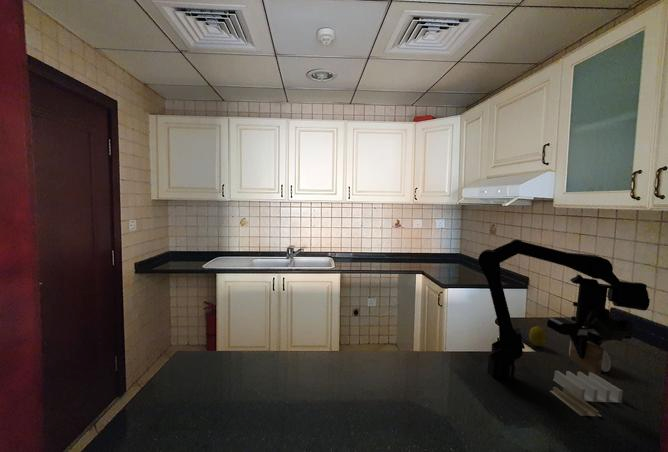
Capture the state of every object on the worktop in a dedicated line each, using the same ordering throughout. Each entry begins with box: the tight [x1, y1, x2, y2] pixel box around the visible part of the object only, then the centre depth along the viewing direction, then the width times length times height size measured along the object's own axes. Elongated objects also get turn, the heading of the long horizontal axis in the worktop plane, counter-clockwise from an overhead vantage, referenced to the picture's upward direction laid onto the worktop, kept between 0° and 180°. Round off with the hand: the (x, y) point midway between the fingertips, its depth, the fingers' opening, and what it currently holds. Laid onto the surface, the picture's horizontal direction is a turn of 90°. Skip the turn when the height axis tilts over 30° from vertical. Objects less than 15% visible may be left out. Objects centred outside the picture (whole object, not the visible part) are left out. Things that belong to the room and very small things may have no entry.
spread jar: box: [568, 338, 612, 373], centre depth 104 cm, size 12×11×12 cm
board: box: [568, 341, 605, 376], centre depth 80 cm, size 2×8×7 cm, turn 1°
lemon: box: [528, 325, 547, 347], centre depth 115 cm, size 6×6×8 cm
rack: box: [552, 370, 624, 403], centre depth 85 cm, size 12×10×4 cm
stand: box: [549, 386, 602, 417], centre depth 79 cm, size 6×10×2 cm, turn 3°
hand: (584, 358), depth 80 cm, fingers closed on board, 2 cm apart
